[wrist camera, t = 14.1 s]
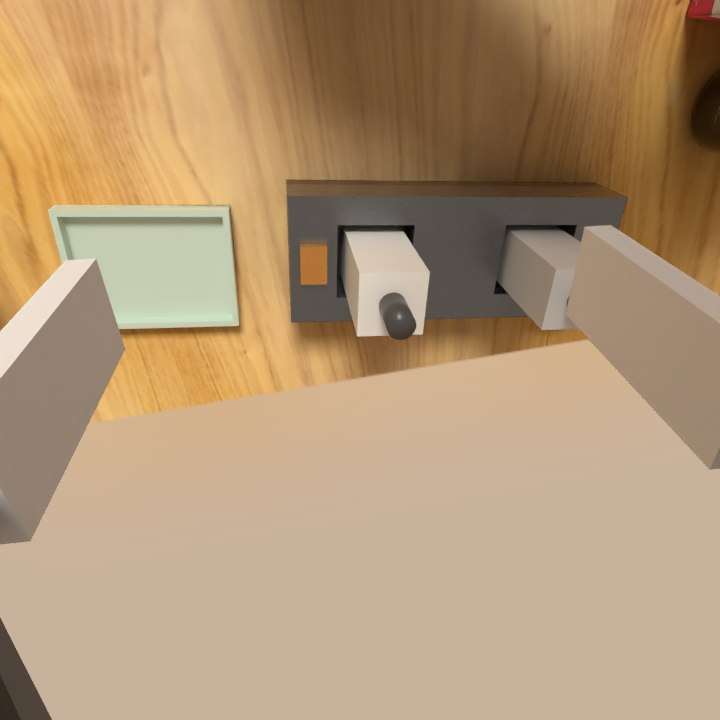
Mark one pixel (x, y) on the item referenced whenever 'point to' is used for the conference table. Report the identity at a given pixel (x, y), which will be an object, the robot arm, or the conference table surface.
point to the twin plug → (539, 272)
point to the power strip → (430, 236)
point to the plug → (383, 281)
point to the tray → (156, 261)
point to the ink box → (705, 10)
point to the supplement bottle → (708, 117)
